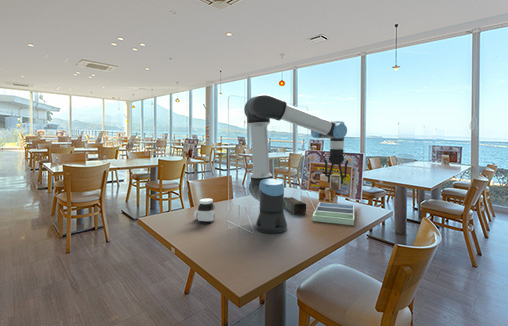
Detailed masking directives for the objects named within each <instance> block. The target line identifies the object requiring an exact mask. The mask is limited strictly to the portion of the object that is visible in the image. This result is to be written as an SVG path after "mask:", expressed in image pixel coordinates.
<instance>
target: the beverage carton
mask: <svg viewBox="0 0 508 326" xmlns="http://www.w3.org/2000/svg"><path fill="white" fill-rule="evenodd" d="M284 209H285V210H286V211H288V212H289V213H291V214H293V215H306V214H307V204H306V202H303V201H301V200H298V199H297V198H294V197H289V196H288V197H287V196H284Z"/></svg>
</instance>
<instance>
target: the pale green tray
mask: <svg viewBox="0 0 508 326" xmlns="http://www.w3.org/2000/svg"><path fill="white" fill-rule="evenodd" d="M312 222H317V223H318V222H320V223H329V224H337V225H347V226H355V213H354V214H344V213H333V212H323V211H315V210H314V212H313V214H312Z"/></svg>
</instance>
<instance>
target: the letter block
mask: <svg viewBox="0 0 508 326" xmlns="http://www.w3.org/2000/svg"><path fill="white" fill-rule="evenodd" d="M330 177H331V189H330V190H331V191H340V190H339V179H340V178H341V176H340V174H332V173H331V176H330Z"/></svg>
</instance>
